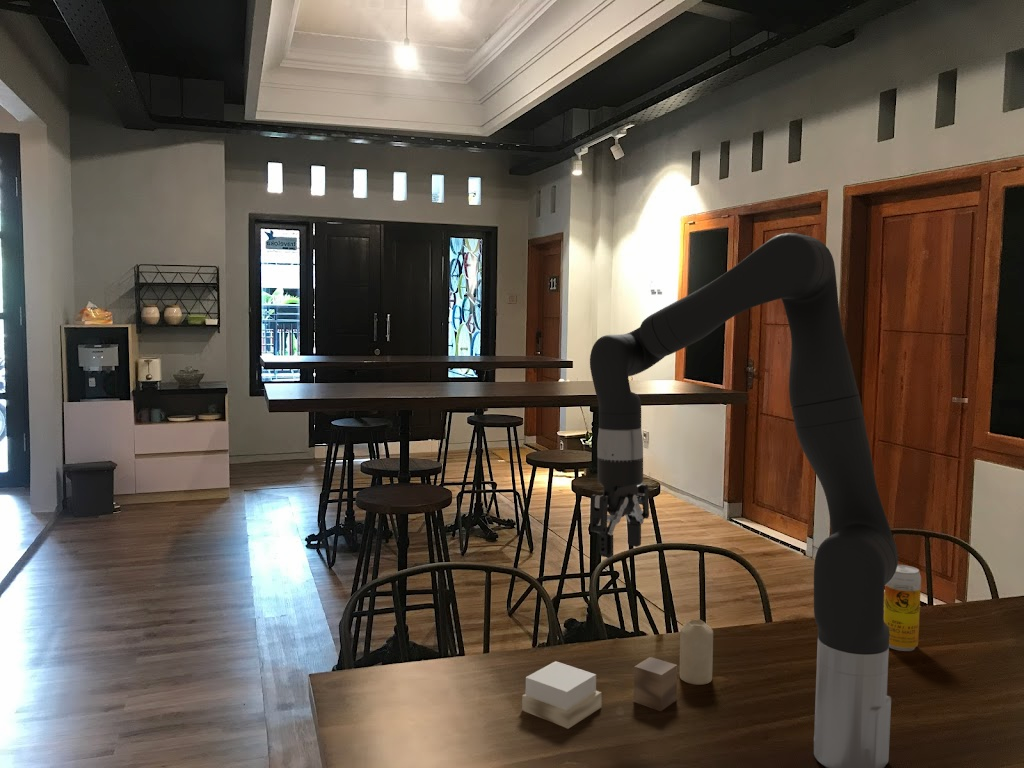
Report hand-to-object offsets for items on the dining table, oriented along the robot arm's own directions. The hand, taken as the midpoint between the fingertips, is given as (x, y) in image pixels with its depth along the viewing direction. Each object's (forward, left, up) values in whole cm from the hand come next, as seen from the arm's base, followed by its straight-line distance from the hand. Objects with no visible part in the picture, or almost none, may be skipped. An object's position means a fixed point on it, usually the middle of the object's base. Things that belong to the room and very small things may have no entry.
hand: (620, 550), depth 139 cm
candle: (-9, -11, -23) cm, 27 cm away
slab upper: (+2, +13, -21) cm, 25 cm away
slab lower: (+2, +13, -24) cm, 27 cm away
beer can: (-32, -49, -23) cm, 63 cm away
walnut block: (-8, +1, -23) cm, 25 cm away
